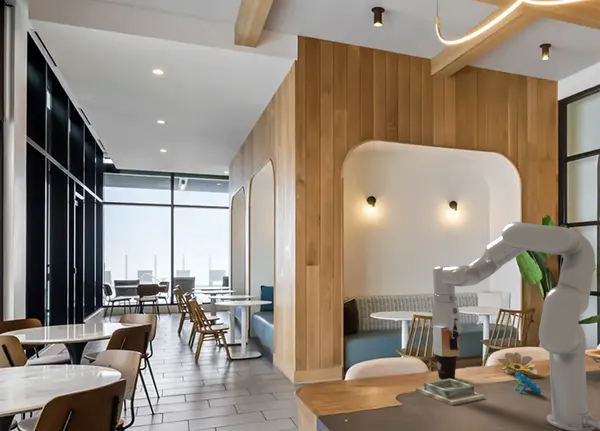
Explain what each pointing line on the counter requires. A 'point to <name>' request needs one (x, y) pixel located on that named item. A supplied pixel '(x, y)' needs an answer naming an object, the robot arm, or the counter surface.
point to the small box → (443, 342)
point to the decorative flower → (517, 364)
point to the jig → (450, 391)
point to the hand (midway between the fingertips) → (446, 347)
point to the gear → (526, 383)
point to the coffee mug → (446, 366)
